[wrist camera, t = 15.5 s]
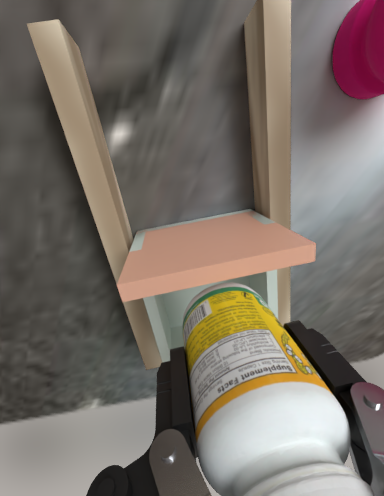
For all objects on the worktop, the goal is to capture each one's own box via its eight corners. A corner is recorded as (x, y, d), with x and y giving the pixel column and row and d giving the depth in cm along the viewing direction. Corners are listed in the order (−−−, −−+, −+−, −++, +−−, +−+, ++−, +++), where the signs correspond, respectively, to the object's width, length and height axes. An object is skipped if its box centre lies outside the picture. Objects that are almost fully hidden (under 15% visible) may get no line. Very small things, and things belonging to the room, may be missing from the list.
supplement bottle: (174, 289, 13) (199, 581, 4) (262, 271, 13) (475, 502, 4) (189, 357, 15) (228, 650, 6) (265, 340, 15) (414, 594, 6)
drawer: (164, 330, 23) (165, 425, 15) (137, 230, 19) (116, 284, 10) (256, 309, 23) (308, 390, 15) (249, 208, 19) (315, 243, 11)
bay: (148, 345, 23) (146, 369, 21) (53, 51, 14) (26, 24, 11) (275, 316, 24) (290, 336, 21) (266, 19, 15) (290, -14, 12)
